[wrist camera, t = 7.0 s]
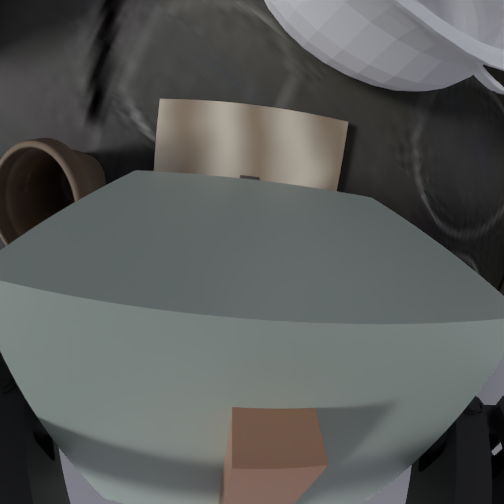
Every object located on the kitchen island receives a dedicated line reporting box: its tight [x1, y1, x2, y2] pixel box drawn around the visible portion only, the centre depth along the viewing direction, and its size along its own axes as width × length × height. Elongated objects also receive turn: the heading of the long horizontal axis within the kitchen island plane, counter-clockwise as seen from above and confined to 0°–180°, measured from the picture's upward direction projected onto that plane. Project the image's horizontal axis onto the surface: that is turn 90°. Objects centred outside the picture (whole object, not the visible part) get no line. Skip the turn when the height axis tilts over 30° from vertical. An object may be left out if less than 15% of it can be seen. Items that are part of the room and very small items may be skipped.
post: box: [154, 99, 348, 191], centre depth 24 cm, size 18×18×11 cm
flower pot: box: [0, 138, 106, 246], centre depth 23 cm, size 12×11×10 cm
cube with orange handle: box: [0, 170, 504, 504], centre depth 8 cm, size 9×9×9 cm
